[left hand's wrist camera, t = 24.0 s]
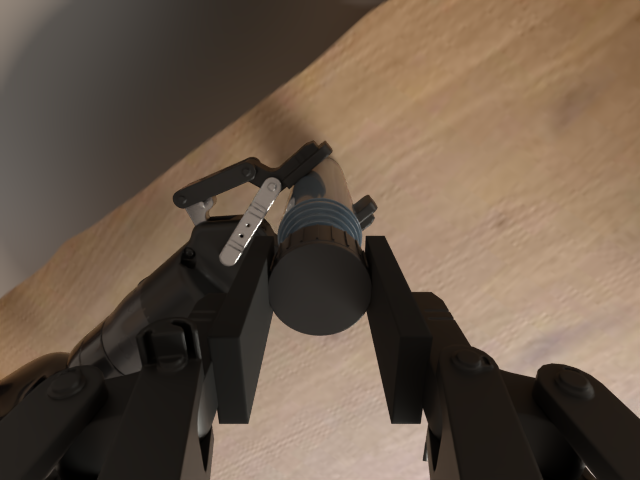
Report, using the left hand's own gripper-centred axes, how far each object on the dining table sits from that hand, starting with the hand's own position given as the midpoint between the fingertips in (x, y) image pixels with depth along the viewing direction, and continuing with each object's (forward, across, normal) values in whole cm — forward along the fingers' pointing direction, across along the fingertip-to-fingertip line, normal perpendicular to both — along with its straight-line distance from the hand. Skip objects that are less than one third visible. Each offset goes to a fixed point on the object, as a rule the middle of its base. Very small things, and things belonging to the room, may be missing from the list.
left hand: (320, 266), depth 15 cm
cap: (-2, 0, 0) cm, 2 cm away
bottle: (+17, 0, 0) cm, 17 cm away
